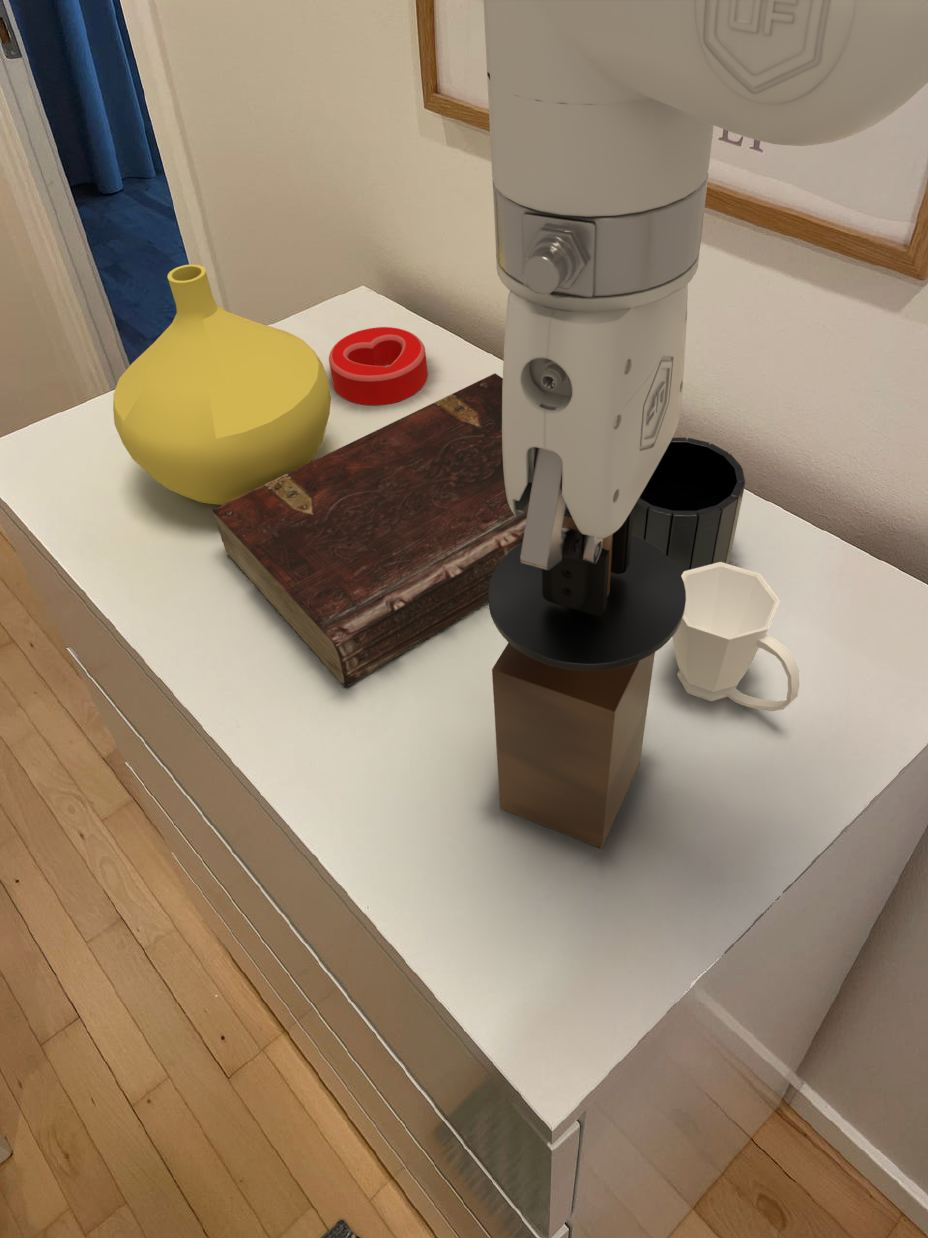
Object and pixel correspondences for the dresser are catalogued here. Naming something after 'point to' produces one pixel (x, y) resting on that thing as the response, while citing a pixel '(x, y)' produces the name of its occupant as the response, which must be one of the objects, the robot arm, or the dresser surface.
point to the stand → (568, 741)
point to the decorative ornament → (378, 366)
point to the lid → (576, 640)
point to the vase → (220, 399)
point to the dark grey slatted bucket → (691, 504)
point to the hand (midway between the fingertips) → (586, 581)
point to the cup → (728, 634)
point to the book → (383, 532)
